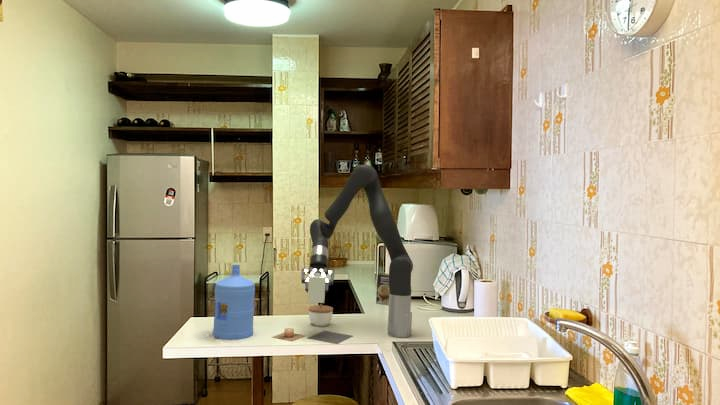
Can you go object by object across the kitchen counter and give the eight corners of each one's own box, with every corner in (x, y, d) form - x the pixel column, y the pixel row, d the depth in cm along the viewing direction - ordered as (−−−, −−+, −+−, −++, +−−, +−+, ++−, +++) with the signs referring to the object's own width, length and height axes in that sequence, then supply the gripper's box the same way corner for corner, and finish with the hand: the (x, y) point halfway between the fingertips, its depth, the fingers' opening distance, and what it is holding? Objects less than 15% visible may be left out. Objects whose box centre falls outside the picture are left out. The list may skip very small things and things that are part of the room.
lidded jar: (310, 328, 212) (311, 307, 212) (306, 322, 223) (307, 301, 223) (334, 328, 215) (335, 306, 215) (329, 322, 225) (330, 301, 225)
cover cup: (308, 298, 202) (309, 271, 202) (324, 299, 202) (326, 272, 202) (307, 302, 196) (308, 274, 195) (324, 302, 196) (325, 275, 196)
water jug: (252, 329, 207) (255, 262, 207) (253, 340, 192) (256, 268, 192) (213, 330, 203) (216, 262, 203) (211, 341, 188) (214, 267, 188)
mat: (353, 336, 202) (353, 335, 202) (337, 345, 190) (337, 344, 190) (324, 331, 209) (324, 330, 209) (306, 339, 196) (306, 338, 196)
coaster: (306, 336, 200) (306, 335, 200) (292, 342, 191) (292, 341, 191) (285, 332, 204) (285, 331, 204) (271, 338, 195) (271, 337, 195)
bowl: (295, 336, 198) (295, 329, 198) (290, 338, 195) (290, 331, 195) (287, 334, 200) (288, 327, 200) (282, 336, 197) (282, 329, 197)
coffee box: (375, 303, 271) (376, 274, 271) (378, 301, 277) (379, 272, 277) (391, 305, 268) (393, 275, 268) (394, 303, 274) (395, 274, 274)
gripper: (302, 252, 206) (298, 285, 194) (336, 254, 207) (334, 287, 195) (302, 263, 211) (298, 296, 200) (335, 265, 212) (334, 297, 200)
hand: (316, 291), depth 197 cm, fingers closed on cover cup, 6 cm apart
